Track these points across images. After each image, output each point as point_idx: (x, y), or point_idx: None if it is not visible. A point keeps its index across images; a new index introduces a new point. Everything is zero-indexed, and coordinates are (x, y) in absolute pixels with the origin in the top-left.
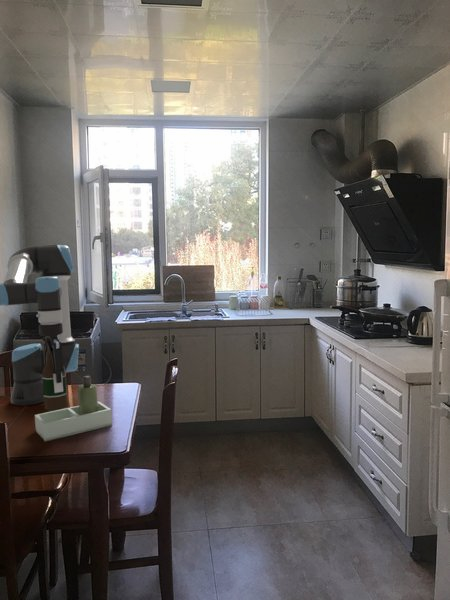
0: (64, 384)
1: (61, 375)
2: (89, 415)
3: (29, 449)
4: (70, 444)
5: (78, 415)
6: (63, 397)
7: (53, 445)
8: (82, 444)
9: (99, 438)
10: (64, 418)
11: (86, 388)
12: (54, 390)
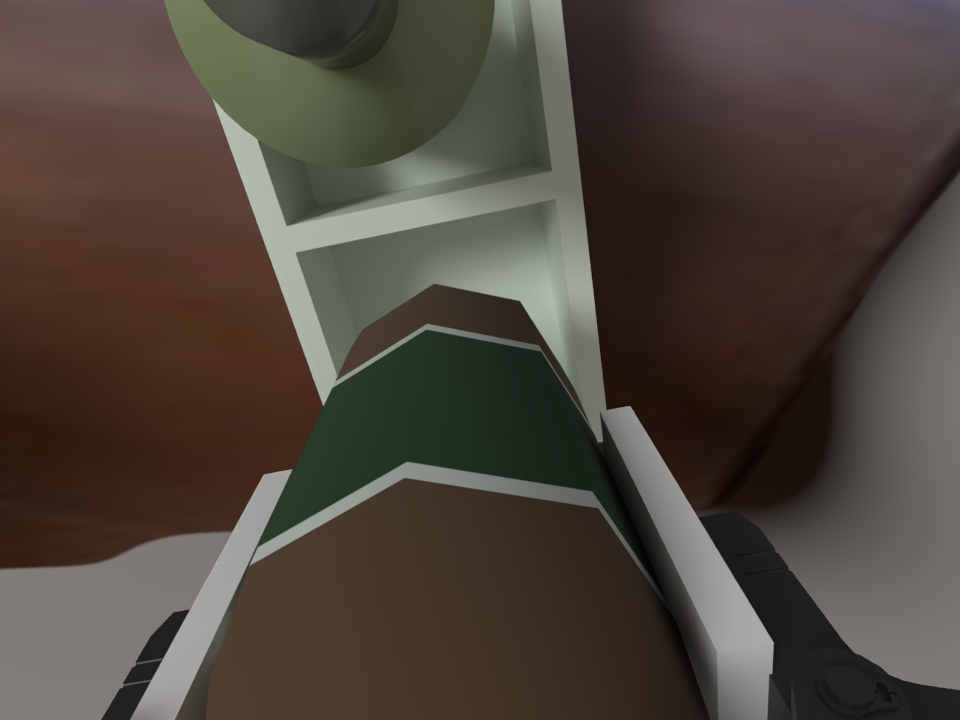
0: (572, 422)
1: (736, 593)
2: (565, 70)
3: None
4: (722, 251)
5: (548, 178)
6: (555, 364)
7: (672, 344)
8: (775, 179)
9: (747, 40)
10: (323, 264)
11: (448, 28)
12: None
